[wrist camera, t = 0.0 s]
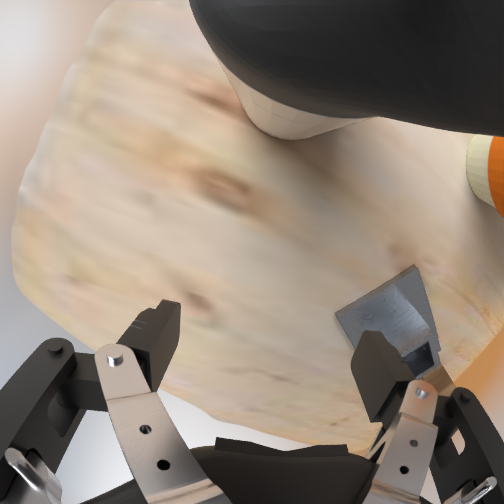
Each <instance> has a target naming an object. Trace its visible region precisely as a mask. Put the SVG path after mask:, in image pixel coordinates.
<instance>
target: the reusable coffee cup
mask: <svg viewBox="0 0 504 504" xmlns="http://www.w3.org/2000/svg"><path fill="white" fill-rule="evenodd" d="M466 172H467V177H468V181H469V184H470V186H471V189H472V191H473V192H474V194H475V195H476V196H477V197H478V198H479V199H481V200H482V201H484V202H486V203H488V204H489V205H491V206H493V207H494V208H496V209H497V211H498V212H499V213H500V214H501V216H502V217H504V137H497V136H488V135H480V134H477V135H475V136H474V137H473V139H472V140H471V142H470V144H469V147H468V150H467V156H466Z"/></svg>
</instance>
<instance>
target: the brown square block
mask: <svg viewBox="0 0 504 504" xmlns="http://www.w3.org/2000/svg"><path fill="white" fill-rule="evenodd" d="M440 364H441V362H440ZM422 380H423V381H426V382H428V383H429V384H431V385H432V386H433V387H434V388H435V389H436V391H437V394H438V395H442V396H450V395H451V393H452V392H453V390H454V389H455V388H456V386H455V385H454V383H453V381H452V380H451V378H450V377H449V375H448V373H447V372H446V370H445V369H444V367H443V366H442V364H441V365H440V366H438V367H437V368H435V369H434V370H432V371H431V372H429V373H428V374H426V375H425V376H423V377H422Z"/></svg>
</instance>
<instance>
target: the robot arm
mask: <svg viewBox="0 0 504 504" xmlns="http://www.w3.org/2000/svg"><path fill="white" fill-rule="evenodd" d="M189 2H190V6H191V9H192V12H193V15H194V17H195V20H196V22H197V24H198V26H199V28H200V30H201V32H202V33H203V35H204V37H205V38H206V40H207V42H208V44H209V45H210V47H211V49H212V51H213V52H214V54H215V56H216V58H217V60H218V61H219V63H220V65H221V67H222V69H223V71H224V72H225V74H226V75H227V77H228V79H229V81H230V83H231V85H232V87H233V89H234V91H235V93H236V94H237V96H238V98H239V100H240V102H241V104H242V106H243V108H244V110H245V112H246V114H247V115H248V117H249V119H250V120H251V121H252V122H253V123H254V125H255V126H257V127H258V128H259V129H260V130H262V131H263V132H265V133H267V134H269V135H271V136H273V137H276V138H280V139H285V140H301V139H307V138H310V137H312V136H316V135H319V134H322V133H325V132H328V131H331V130H334V129H337V128H341V127H344V126H347V125H351V124H354V123H357V122H360V121H364V120H367V119H371V118H375V117H378V116H379V117H385V118H390V119H395V120H399V121H403V122H408V123H413V124H417V125H422V126H427V127H431V128H436V129H442V130H448V131H454V132H462V133H471V134H480V135H488V136H497V137H504V0H189ZM180 313H181V305H180V303H178V302H173V301H169V300H164V299H163V300H162V301H161V302H160V304H159V305H158V306H157V308H156V309H152V308H148V309H146V310H144V311H142V312H141V313H140V314H139V315H138V316H137V317H136V319H135V321H133V322H132V324H131V326H129V328H128V329H127V330H126V331H125V333H124V334H123V335H122V337H121V338H120V339H119V340H118V342H117V343H116V344H108V345H105V346H102V347H101V348H99V349H98V350H97V351H96V353H95V354H87V353H77V352H75V351H74V347H73V345H72V343H71V342H70V341H68V340H66V339H63V338H51V339H48V340H46V341H44V342H43V343H42V344H41V345H40V346H39V347H38V348H37V349H36V350H35V351H34V352H33V353H32V354H31V355H30V357H29V358H28V359H27V360H26V361H25V362H24V363H23V364H22V365H21V367H20V368H19V369H18V370H17V371H16V372H15V374H14V375H13V376H12V377H11V378H10V379H9V381H8V382H7V383H6V384H5V385H4V387H3V388H2V389H1V390H0V504H61V495H62V487H61V484H60V482H59V480H58V478H57V477H56V476H55V473H56V471H57V469H58V466H59V464H60V462H61V460H62V458H63V456H64V454H65V452H66V450H67V447H68V446H69V444H70V441H71V439H72V437H73V435H74V433H75V432H76V430H77V428H78V426H79V424H80V422H81V420H82V418H83V416H84V414H85V412H86V410H95V411H105V412H108V413H109V416H110V419H111V422H112V425H113V428H114V430H115V433H116V436H117V439H118V441H119V444H120V446H121V449H122V452H123V454H124V457H125V459H126V461H127V464H128V466H129V469H130V471H131V473H132V475H133V477H134V479H133V480H131V481H129V482H127V483H125V484H123V485H121V486H119V487H117V488H114V489H112V490H110V491H108V492H106V493H104V494H101V495H99V496H97V497H95V498H93V499H90V500H87V501H85V502H83V503H80V504H432V503H430V502H429V501H427V500H426V499H424V498H423V497H421V496H420V493H421V490H422V487H423V484H424V481H425V478H426V474H427V471H428V468H430V470H431V473H432V476H433V479H434V482H435V485H436V488H437V492H438V495H439V498H440V501H441V504H504V442H503V440H502V438H501V437H500V435H499V433H498V431H497V430H496V428H495V426H494V425H493V423H492V421H491V420H490V418H489V416H488V415H487V413H486V412H485V410H484V408H483V407H482V405H481V404H480V402H479V401H478V399H477V398H476V396H475V395H474V394H473V393H472V392H471V391H470V390H468V389H466V388H462V387H458V388H455V389H454V390H453V392H452V393H451V395H450V396H442V395H438V394H437V391H436V389H435V388H434V387H433V386H432V385H431V384H429V383H428V382H426V381H423V380H416V378H415V376H414V375H413V373H412V372H411V370H410V368H409V367H408V365H407V364H406V363H405V361H404V359H403V357H401V354H400V353H399V351H398V350H397V348H395V347H394V346H393V345H392V344H391V343H389V342H388V341H387V340H386V338H385V336H384V335H383V333H382V332H381V331H372V330H365V331H364V332H363V333H362V335H361V338H360V340H359V343H358V345H357V347H356V350H355V352H354V355H353V357H352V360H351V371H352V374H353V376H354V379H355V381H356V384H357V387H358V389H359V392H360V395H361V397H362V400H363V403H364V405H365V408H366V411H367V414H368V416H369V419H370V422H371V423H373V422H382V426H381V427H380V429H379V430H378V432H377V434H376V436H375V438H374V440H373V442H372V444H371V446H370V448H369V450H368V452H367V453H366V455H365V457H362V456H359V455H355V454H352V453H349V452H348V448H347V444H343V445H316V446H312V447H307V448H302V449H296V450H291V451H281V450H277V449H273V448H270V447H266V446H263V445H259V444H256V443H253V442H248V441H240V440H233V439H225V438H219V437H216V442H215V446H203V447H197V448H192V449H189V448H188V447H187V445H186V444H185V442H184V440H183V439H182V437H181V436H180V434H179V432H178V431H177V429H176V427H175V425H174V423H173V422H172V420H171V418H170V417H169V415H168V413H167V411H166V409H165V407H164V405H163V403H162V401H161V400H160V398H159V396H158V394H157V393H156V392H157V390H158V388H159V386H160V383H161V381H162V379H163V377H164V374H165V372H166V370H167V368H168V365H169V363H170V361H171V359H172V357H173V354H174V352H175V350H176V348H177V345H178V341H179V335H180ZM458 429H459V430H460V432H461V434H462V436H463V438H464V441H465V448H464V450H463V452H462V453H461V454H460V455H459V454H458V452H457V450H456V447H455V445H454V443H453V441H452V439H451V437H452V436H453V435H454V434H455V432H456V431H457V430H458Z"/></svg>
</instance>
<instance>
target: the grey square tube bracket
mask: <svg viewBox="0 0 504 504" xmlns="http://www.w3.org/2000/svg"><path fill="white" fill-rule="evenodd" d="M335 314H336V317H337V319H338V321H339V322H340V324H341V326H342V327H343V329H344V331H345V332H346V334H347V336H348V337H349V339H350V341H351V342H352V344H353V346H354V347H355V349H356V347H357V345H358V343H359V340H360V338H361V335H362V333H363V332H364V331H365V330H372V331H381V332H382V333H383V335H384V336H385V338H386V340H387V341H388V342H389V343H391V344H392V345H393V346H394V347H395V348H397V350H398V351H399V353H400V354H401V357H403V359H404V361H405V363H406V364H407V365H408V367H409V368H410V370H411V372H412V373H413V375H414V376H415V378H416V380H418V379H420V378H421V377H423V376H425V375H426V374H428V373H429V372H431V371H432V370H434V369H435V368H437V367H438V366H440V365H441V364H440V359H439V355H438V352H439V351H441V349H440V344H439V340H438V335H437V331H436V327H435V323H434V319H433V315H432V312H431V308H430V305H429V301H428V298H427V294H426V291H425V288H424V285H423V282H422V279H421V276H420V273H419V270H418V267H416V266H415V265H412V266H411V267H409V268H408V269H406V270H405V271H403V272H402V273H400V274H399V275H397V276H396V277H394V278H392V279H391V280H389V281H388V282H386V283H385V284H383V285H381V286H380V287H378V288H377V289H375V290H373V291H372V292H370V293H368V294H367V295H365V296H363V297H362V298H360V299H358V300H357V301H355V302H353V303H352V304H350V305H348V306H346V307H345V308H343V309H341V310H339V311H338V312H336V313H335Z"/></svg>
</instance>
